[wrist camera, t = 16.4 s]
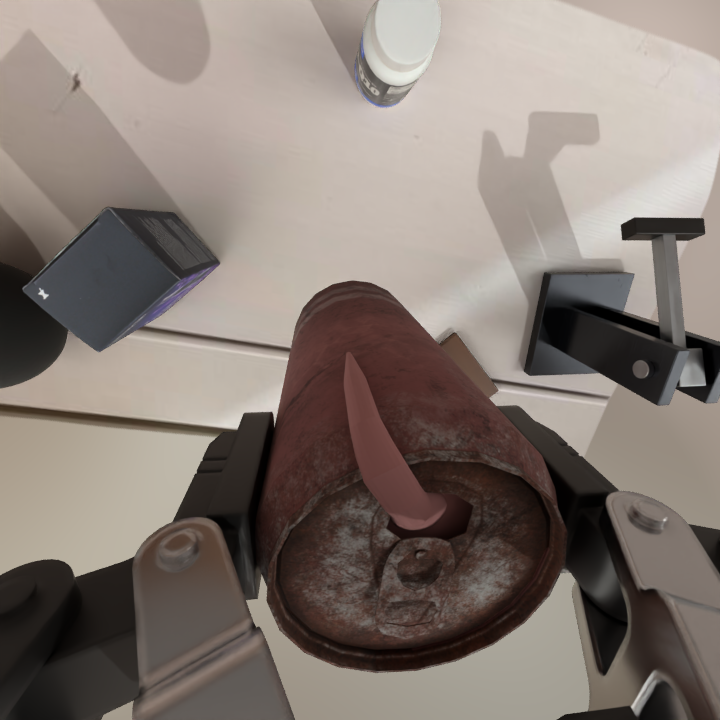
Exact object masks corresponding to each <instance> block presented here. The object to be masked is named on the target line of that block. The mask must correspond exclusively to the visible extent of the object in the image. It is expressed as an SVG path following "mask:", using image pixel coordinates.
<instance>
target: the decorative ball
mask: <svg viewBox="0 0 720 720" xmlns="http://www.w3.org/2000/svg"><path fill="white" fill-rule="evenodd" d="M33 278H34V277H33V276H31V275H29V274H28V273H26V272H24V271H22V270H20V269H17V268H15V267H12V266H9V265H6V264H3V263H0V388H5V387H9V386H13V385H17V384H20V383H22V382H25V381H27V380H29V379H31V378H33V377H35V376H37V375H39V374H40V373H42V372H43V371H45V370H46V369H47V368H48V367H49V366H50V365H52V364H53V362H54V361H55V360H56V359H57V358H58V356H59V355H60V353H61V352H62V350H63V348H64V345H65V343H66V339H67V332H68V329H67V328H66V327H64V326H63V325H62V324H61V323H59V322H58V321H57V320H56V319H54V318H53V317H52V316H51V315H50V314H49V313H47V312H46V311H45V310H44V309H43V308H41V307H40V306H39V305H38V304H37V303H36V302H35V301H33V300H32V299H31V298H30V297H29V296H28V295H27V294H25V293H24V292H23V287H24V286H26V285H27V284H28V283H29V282H30V281H31V280H32V279H33Z"/></svg>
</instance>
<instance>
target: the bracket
mask: <svg viewBox="0 0 720 720" xmlns="http://www.w3.org/2000/svg"><path fill="white" fill-rule="evenodd" d="M633 278H634V274H633V273H627V272H562V273H544V277H543V282H542V287H541V291H540V296H539V301H538V306H537V311H536V316H535V321H534V325H533V330H532V335H531V340H530V345H529V350H528V354H527V359H526V364H525V369H524V372H525V373H527V374H528V375H529V376H537V375H563V374H589V373H600V374H602V375H604V376H606V377H608V378H609V379H611V380H613V381H615V382H616V383H618V384H620V385H622V386H624V387H625V388H627V389H629V390H631V391H632V392H634V393H636V394H638V395H640V396H641V397H643V398H645V399H647V400H648V401H650V402H652V403H654V404H656V405H659V406H660V405H669V404H670V401H671V399H672V396H673V394H674V391H675V389H677V390H679V391H681V392H683V393H685V394H687V395H689V396H691V397H693V398H695V399H698V400H700V401H702V402H704V403H717V401H718V399H719V397H720V342H719V341H715V340H712V339H709V338H706V337H702V336H699V335H696V334H693V333H690V332H687V331H685V340H686V349H685V348H683V347H680V346H677V345H674V344H672V343H669V342H666V341H663V340H661V339H660V328H659V323H658V322H655V321H652V320H649V319H646V318H643V317H639V316H636V315H633V314H630V313H627V312H624V307H625V304H626V301H627V297H628V294H629V291H630V287H631V284H632V281H633ZM693 348H702V349H703V360H704V370H705V380H706V385H705V386H688V387H676V386H677V384H678V381H679V379H680V376H681V374H682V371H683V368H684V366H685V363H686V361H687V358H688V356H689V353H690V350H688V349H693Z"/></svg>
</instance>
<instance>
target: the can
mask: <svg viewBox="0 0 720 720" xmlns="http://www.w3.org/2000/svg"><path fill="white" fill-rule="evenodd" d="M566 543H567V529H566V527H565V524H564V522H563V520H562V517H561V515H560V512H559V510H558V504H557V497H556V490H555V487H554V484H553V482H552V479H551V477H550V474H549V472H548V469H547V467H546V464H545V462H544V459H543V457H542V455H541V454H540V453H539V452H538V451H537V450H536V449H535V447H534V446H533V445H532V444H531V443H530V442H529V441H528V440H527V439H526V438H525V437H524V436H523V435H522V433H521V432H520V431H519V430H518V429H517V428H516V427H515V426H514V425H513V424H512V423H511V422H510V421H509V419H508V418H507V417H506V416H505V415H504V414H503V413H502V412H501V411H500V410H499V409H498V408H497V407H496V405H495V404H494V403H493V402H492V401H491V400H490V399H489V398H488V397H487V396H486V395H485V394H484V393H483V391H482V390H481V389H480V388H479V387H478V386H477V385H476V384H475V383H474V382H473V381H472V380H471V379H470V378H469V376H468V375H467V374H466V373H465V372H464V371H463V370H462V369H461V368H460V367H459V366H458V365H457V364H456V362H455V361H454V360H453V359H452V358H451V357H450V356H449V355H448V354H447V353H446V352H445V351H444V350H443V348H442V347H441V346H440V345H439V344H438V343H437V342H436V341H435V340H434V339H433V338H432V337H431V336H430V334H429V333H428V332H427V331H426V330H425V329H424V328H423V327H422V326H421V325H420V324H419V323H418V322H417V320H416V319H415V318H414V317H413V316H412V315H411V314H410V313H409V312H408V311H407V310H406V309H405V308H404V306H403V305H402V304H401V303H400V302H399V301H398V300H397V299H396V298H395V297H394V296H393V295H391V294H390V293H389V292H388V291H387V290H385V289H383V288H381V287H379V286H376V285H374V284H372V283H368V282H360V281H347V282H342V283H337V284H332V285H331V286H329V287H327V288H325V289H324V290H322V291H320V292H318V293H317V294H315V295H314V296H313V298H312V299H311V300H310V301H309V302H308V303H307V304H306V305H305V307H304V308H303V309H302V312H301V314H300V316H299V319H298V321H297V323H296V326H295V331H294V336H293V341H292V346H291V351H290V355H289V360H288V365H287V370H286V375H285V380H284V385H283V389H282V394H281V399H280V404H279V409H278V414H277V418H276V423H275V428H274V433H273V438H272V443H271V447H270V452H269V457H268V462H267V467H266V472H265V476H264V481H263V486H262V491H261V496H260V501H259V505H258V510H257V515H256V523H255V550H256V562H257V564H258V567H259V569H260V571H261V574H262V576H263V578H264V581H265V583H266V585H267V603H268V605H269V607H270V609H271V612H272V614H273V616H274V619H275V621H276V623H277V625H278V628H279V630H280V631H281V632H282V633H283V634H284V635H285V636H287V637H288V638H289V639H290V640H291V641H292V642H293V643H294V644H295V645H297V646H298V647H299V648H300V649H301V650H302V651H303V652H304V653H306V654H309V655H311V656H313V657H316V658H318V659H321V660H323V661H325V662H327V663H330V664H332V665H334V666H337V667H341V668H348V669H354V670H361V671H367V672H374V673H383V672H402V671H417V670H421V669H425V668H429V667H434V666H438V665H442V664H446V663H450V662H454V661H457V660H460V659H462V658H464V657H466V656H469V655H471V654H473V653H475V652H478V651H480V650H482V649H485V648H487V647H489V646H491V645H493V644H495V643H496V642H498V641H499V640H500V639H502V638H503V637H505V636H506V635H508V634H509V633H511V632H512V631H513V630H515V629H516V628H518V627H519V626H520V625H522V624H524V623H525V622H526V621H527V620H528V618H530V616H531V615H532V614H533V613H534V612H535V611H536V610H537V609H538V608H539V606H540V605H541V604H542V603H543V602H544V601H545V600H546V599H547V598H548V597H549V596H550V594H551V592H552V589H553V587H554V585H555V583H556V581H557V579H558V577H559V575H560V573H561V571H562V569H563V567H564V565H565V556H566Z"/></svg>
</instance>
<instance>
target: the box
mask: <svg viewBox="0 0 720 720" xmlns="http://www.w3.org/2000/svg"><path fill="white" fill-rule="evenodd" d="M218 265H220V262H219V261H218V260H217V259H216V258H215V257H214V256H213V255H212V254H211V253H210V251H209V250H208V249H207V248H206V247H205V246H204V245H203V244H202V243H201V242H200V241H199V240H198V238H197V237H196V236H195V235H194V234H193V233H192V232H191V231H190V230H189V228H188V227H187V226H186V225H185V224H184V223H183V222H182V221H181V220H180V219H179V217H178V216H177V215H176V214H175V213H173V212H161V211H160V212H159V211H147V210H135V209H124V208H113V207H106V208H104V209H103V210H102V211H101V212H100V213H99V215H98V216H96V218H94V219H93V220H92V221H91V223H89V224H88V225H87V226H86V227H85V228H84V229H83V230H82V231H81V232H80V233H79V234H78V235H77V236H75V237H74V238H73V239H72V240H71V241H70V243H69V244H68V245H66V246H65V247H64V248H63V249H62V250H61V251H60V252H59V253H58V254H57V255H56V256H55V257H54V258H53V260H52V261H51V262H49V263H48V264H47V265H46V266H45V267H44V268H43V269H42V270H41V271H40V272H39V273H38V274H37V275H36V276H35V277H34V278H33V279H32V280H31V281H30V282H29V283H28V284H27V285H26V286H24V287H23V292H24V293H25V294H27V295H28V296H29V297H30V298H31V299H32V300H33V301H35V302H36V303H37V304H38V305H39V306H40V307H41V308H43V309H44V310H45V311H46V312H47V313H49V314H50V315H51V316H52V317H53V318H54V319H56V320H57V321H58V322H59V323H61V324H62V325H63V326H64V327H66V328H67V329H68V330H70V331H71V332H72V333H73V334H74V335H76V336H77V337H78V338H80V339H81V340H82V341H83V342H85V343H86V344H88V345H89V346H90V347H92V348H93V349H94V350H96V351H97V352H101V351H102V350H104V349H106V348H107V347H109V346H111V345H112V344H114V343H116V342H117V341H119V340H120V339H122V338H124V337H126V336H127V335H129V334H131V333H132V332H134V331H136V330H137V329H139V328H141V327H142V326H144V325H146V324H147V323H149V322H151V321H152V320H154V319H156V318H157V317H159V316H161V315H162V314H163V313H164V312H166V311H167V310H168V309H169V308H170V307H172V306H173V305H174V304H175V303H176V302H177V301H179V300H180V299H181V298H182V297H183V296H184V295H186V294H187V293H188V292H189V291H190V290H191V289H193V288H194V287H195V286H196V285H197V284H198V283H199V282H201V281H202V280H203V279H204V278H205V277H206V276H207V275H208V274H209V273H211V272H212V271H213V270H214V269H215V268H216V267H217V266H218Z"/></svg>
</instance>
